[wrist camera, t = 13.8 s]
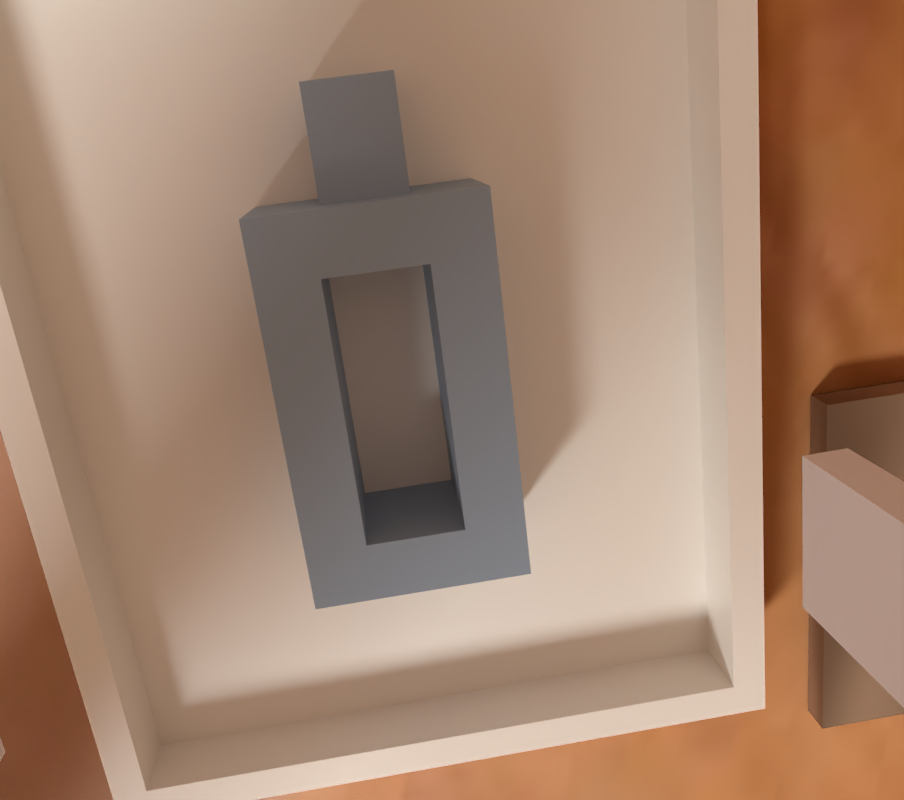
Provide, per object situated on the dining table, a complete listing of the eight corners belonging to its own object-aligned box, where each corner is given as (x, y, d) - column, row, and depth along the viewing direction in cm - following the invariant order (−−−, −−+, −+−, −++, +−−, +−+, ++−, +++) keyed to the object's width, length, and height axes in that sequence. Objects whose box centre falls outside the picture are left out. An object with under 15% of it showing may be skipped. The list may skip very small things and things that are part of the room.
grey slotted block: (509, 519, 26) (530, 573, 23) (320, 549, 26) (315, 609, 23) (458, 67, 22) (476, 56, 19) (233, 95, 22) (213, 89, 19)
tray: (143, 754, 28) (120, 823, 26) (-84, -43, 21) (-153, -71, 18) (725, 653, 30) (764, 708, 27) (704, -132, 22) (755, -169, 20)
